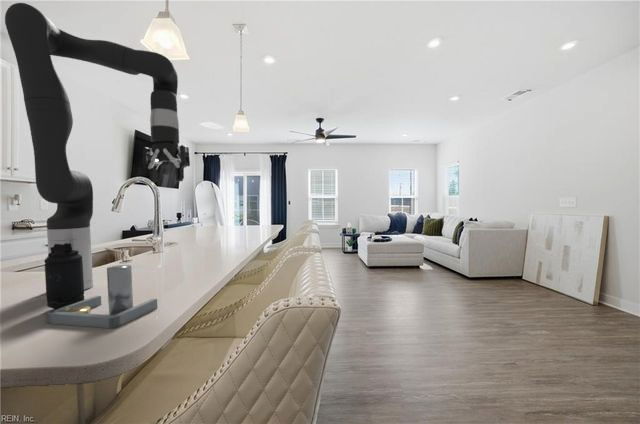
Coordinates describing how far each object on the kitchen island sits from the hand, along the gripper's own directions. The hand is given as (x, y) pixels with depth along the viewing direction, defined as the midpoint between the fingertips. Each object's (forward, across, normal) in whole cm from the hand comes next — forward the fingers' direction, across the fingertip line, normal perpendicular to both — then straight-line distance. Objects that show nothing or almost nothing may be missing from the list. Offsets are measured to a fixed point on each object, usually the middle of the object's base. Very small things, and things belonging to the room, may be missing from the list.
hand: (166, 181), depth 91 cm
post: (+30, +8, -25) cm, 40 cm away
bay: (+30, +5, -26) cm, 40 cm away
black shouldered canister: (+30, -8, -25) cm, 40 cm away
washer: (+30, 0, -29) cm, 42 cm away
